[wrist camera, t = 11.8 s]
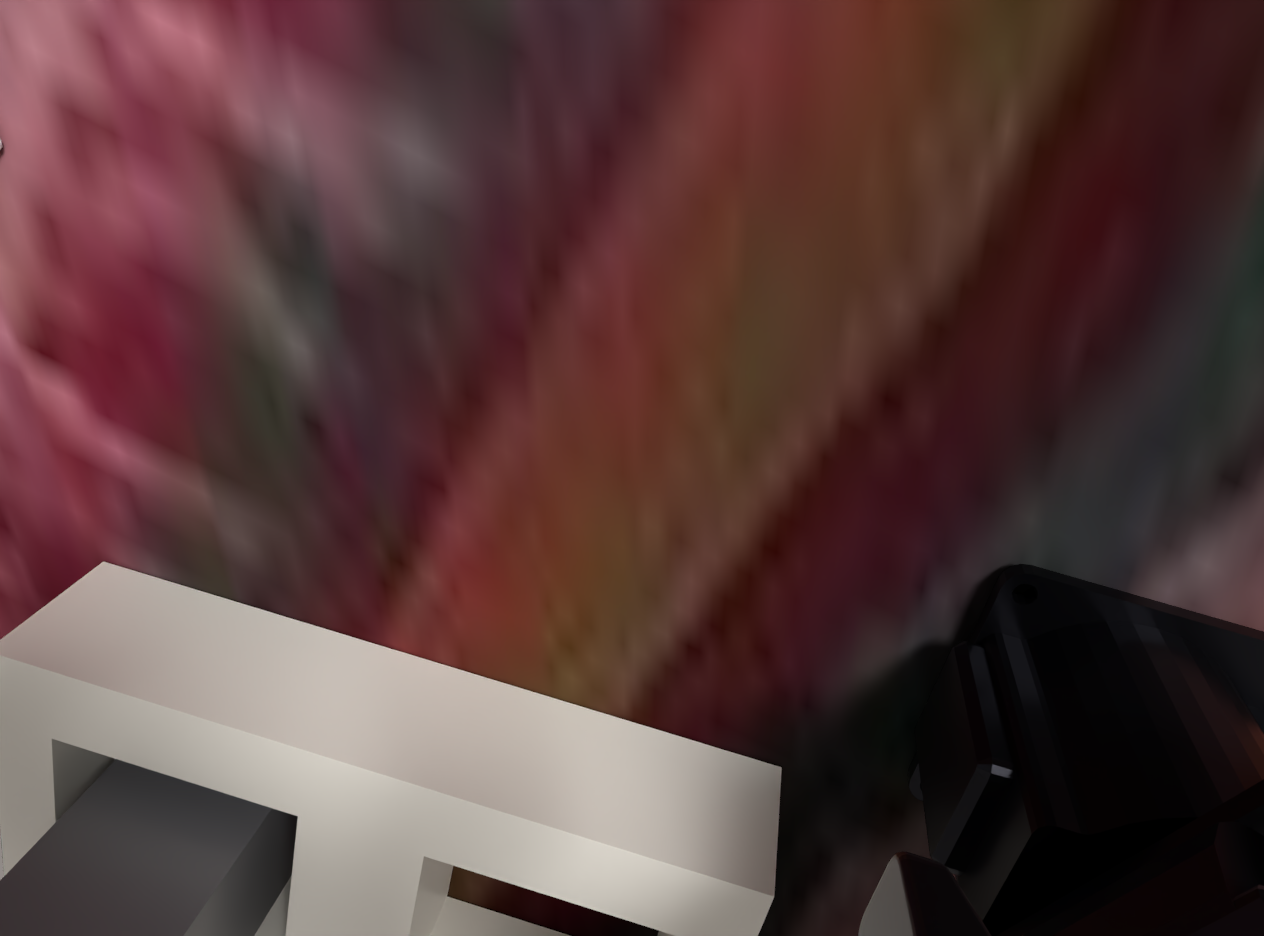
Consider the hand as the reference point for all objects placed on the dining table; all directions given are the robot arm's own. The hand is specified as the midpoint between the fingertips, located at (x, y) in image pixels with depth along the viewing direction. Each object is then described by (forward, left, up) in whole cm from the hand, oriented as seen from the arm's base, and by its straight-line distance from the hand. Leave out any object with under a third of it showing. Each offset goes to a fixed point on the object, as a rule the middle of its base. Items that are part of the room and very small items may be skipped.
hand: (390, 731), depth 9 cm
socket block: (+3, +16, -13) cm, 21 cm away
